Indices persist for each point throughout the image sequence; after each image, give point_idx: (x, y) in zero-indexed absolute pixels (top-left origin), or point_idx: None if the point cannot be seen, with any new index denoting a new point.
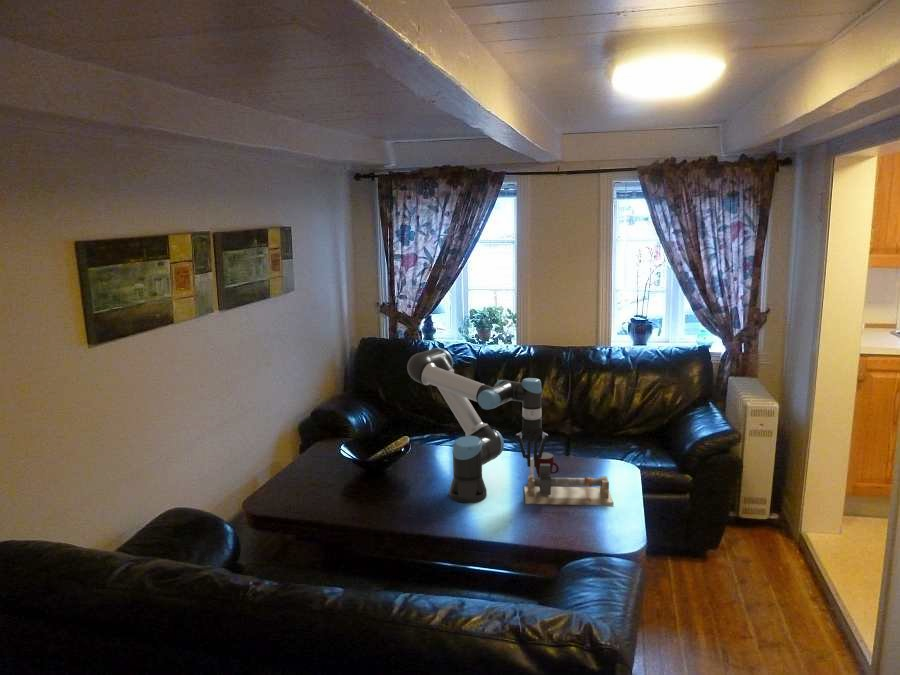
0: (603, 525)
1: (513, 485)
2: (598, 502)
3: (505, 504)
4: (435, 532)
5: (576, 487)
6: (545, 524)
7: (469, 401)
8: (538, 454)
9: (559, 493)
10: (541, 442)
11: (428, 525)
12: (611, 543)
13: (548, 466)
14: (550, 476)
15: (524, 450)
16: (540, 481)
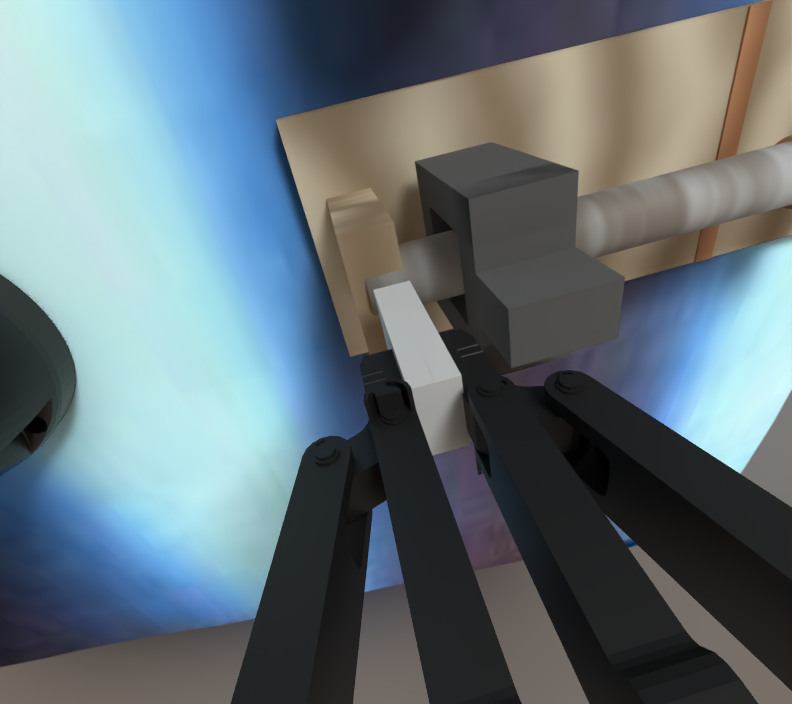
0: (679, 414)
1: (152, 55)
2: (742, 247)
3: (239, 388)
4: (81, 647)
5: (690, 31)
6: (466, 478)
7: None
8: (555, 436)
9: None
10: (787, 605)
11: (11, 633)
12: None
13: (594, 340)
14: (564, 354)
15: (356, 582)
16: None
